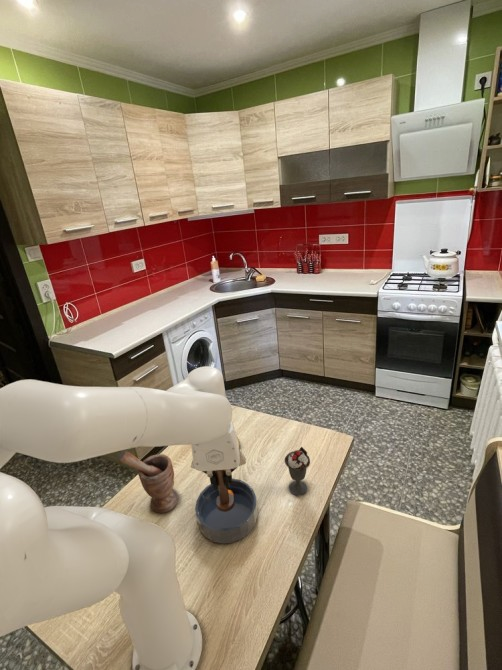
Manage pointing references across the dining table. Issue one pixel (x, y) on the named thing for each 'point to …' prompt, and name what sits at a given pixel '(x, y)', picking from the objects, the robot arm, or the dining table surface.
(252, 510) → the bowl
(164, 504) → the mortar and pestle
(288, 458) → the sundae
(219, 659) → the dining table surface
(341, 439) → the dining table surface
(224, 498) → the brown flanged wooden cylinder
